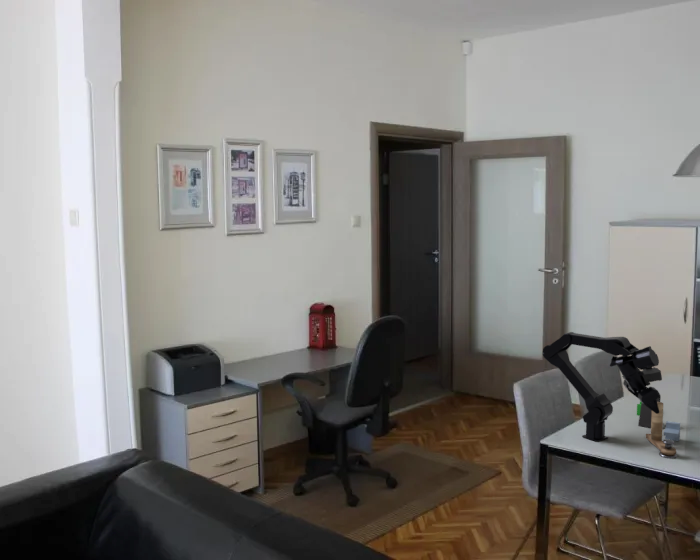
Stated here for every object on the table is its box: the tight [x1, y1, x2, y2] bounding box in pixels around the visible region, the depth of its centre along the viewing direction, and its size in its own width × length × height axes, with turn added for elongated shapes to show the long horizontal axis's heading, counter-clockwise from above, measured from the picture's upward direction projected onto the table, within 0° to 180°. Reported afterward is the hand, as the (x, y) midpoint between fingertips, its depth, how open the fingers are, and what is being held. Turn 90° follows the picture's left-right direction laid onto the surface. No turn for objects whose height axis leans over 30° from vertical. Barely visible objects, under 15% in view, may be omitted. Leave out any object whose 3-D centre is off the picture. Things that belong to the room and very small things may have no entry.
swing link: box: [645, 401, 677, 456], centre depth 246 cm, size 18×5×14 cm, turn 179°
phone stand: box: [637, 395, 661, 429], centre depth 273 cm, size 9×6×12 cm, turn 141°
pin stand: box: [658, 439, 678, 459], centre depth 240 cm, size 6×6×5 cm
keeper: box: [663, 420, 681, 442], centre depth 254 cm, size 7×4×6 cm, turn 150°
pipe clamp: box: [636, 400, 641, 416], centre depth 287 cm, size 11×4×5 cm, turn 145°
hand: (652, 408), depth 250 cm, fingers open, 9 cm apart
